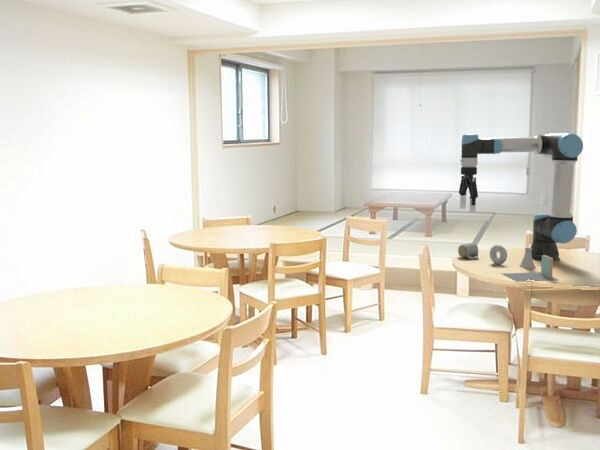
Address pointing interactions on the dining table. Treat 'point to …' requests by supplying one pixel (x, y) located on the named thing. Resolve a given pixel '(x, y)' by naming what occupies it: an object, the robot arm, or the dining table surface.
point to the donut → (494, 254)
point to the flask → (527, 259)
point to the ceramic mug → (468, 251)
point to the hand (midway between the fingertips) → (467, 210)
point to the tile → (547, 266)
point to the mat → (528, 277)
